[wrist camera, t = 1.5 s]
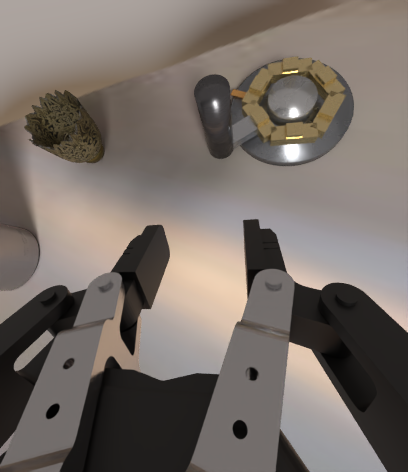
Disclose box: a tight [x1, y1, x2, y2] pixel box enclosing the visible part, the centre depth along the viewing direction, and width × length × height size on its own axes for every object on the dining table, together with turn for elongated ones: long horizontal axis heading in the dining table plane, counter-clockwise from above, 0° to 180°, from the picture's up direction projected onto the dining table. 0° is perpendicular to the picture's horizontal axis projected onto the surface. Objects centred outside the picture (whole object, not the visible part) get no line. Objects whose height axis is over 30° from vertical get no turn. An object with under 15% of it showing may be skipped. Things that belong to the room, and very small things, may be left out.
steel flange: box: [231, 58, 354, 166], centre depth 28 cm, size 15×15×3 cm
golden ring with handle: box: [194, 57, 346, 159], centre depth 24 cm, size 17×12×9 cm
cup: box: [24, 90, 104, 163], centre depth 29 cm, size 8×7×8 cm
